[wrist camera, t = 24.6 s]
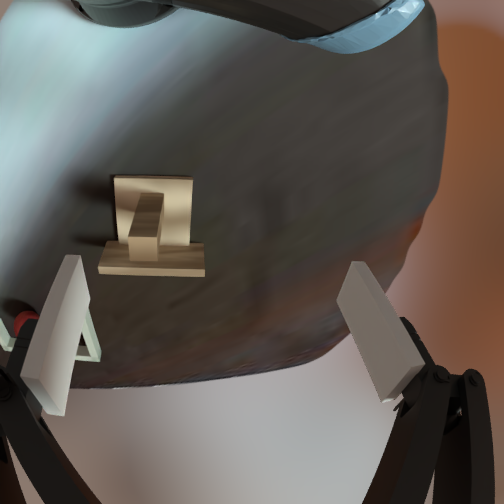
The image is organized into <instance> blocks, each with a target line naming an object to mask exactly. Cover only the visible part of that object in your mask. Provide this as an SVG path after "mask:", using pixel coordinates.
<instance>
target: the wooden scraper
mask: <svg viewBox="0 0 504 504" xmlns="http://www.w3.org/2000/svg"><path fill="white" fill-rule="evenodd" d="M192 184H193V177H176V176H117V175H116V176H115V177H114V187H115V203H116V217H117V228H118V239H119V241H107V242H106V245H105V248H104V251H103V254H102V256H101V259H100V262H99V265H98V269H99V274H118V275H151V276H192V277H204V276H205V263H204V245H203V243H189V241H190V219H191V201H192Z"/></svg>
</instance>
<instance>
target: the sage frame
mask: <svg viewBox="0 0 504 504" xmlns="http://www.w3.org/2000/svg"><path fill="white" fill-rule="evenodd" d="M82 334H83V337H84V339H85V342H86V345H87V346H79V345H78V348H77V352H76V357H75V360H84V361H96V362H100V357H101V349H100V346H99V343H98V340H97V336H96V333H95V330H94V327H93V323H92V320H91V316H90V313H89V309H87V313H86V316H85V320H84V324H83V328H82ZM16 339H17V338H10V336H9V334H8V332H7V330H6V328H5V326H4V324H3V322H2V320H1V318H0V344H1V345H2V347H3V349H4V350H6V351H12V349H13V347H14V343H15V340H16Z"/></svg>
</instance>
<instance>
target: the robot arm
mask: <svg viewBox="0 0 504 504" xmlns="http://www.w3.org/2000/svg"><path fill="white" fill-rule="evenodd" d="M71 1H72V3H73V5H74V6H75V8H76V9H77V10H78V11H79V12H80V13H81V14H82V15H83V16H85V17H86V18H87V19H89V20H91V21H93V22H95V23H98V24H101V25H104V26H109V27H115V28H134V27H140V26H144V25H148V24H151V23H154V22H157V21H159V20H161V19H163V18H165V17H167V16H169V15H170V14H172V13H173V12H175V11H176V10H178V9H179V8H180V7H181V8H186V9H191V10H196V11H200V12H205V13H209V14H213V15H217V16H221V17H225V18H229V19H233V20H236V21H240V22H243V23H247V24H250V25H253V26H257V27H260V28H263V29H266V30H269V31H272V32H275V33H278V34H280V35H281V36H282V37H284V38H286V39H288V40H290V41H296V42H299V43H308V44H311V45H314V46H316V47H319V48H322V49H325V50H327V51H330V52H335V53H342V54H350V53H358V52H362V51H366V50H369V49H372V48H374V47H376V46H379V45H381V44H382V43H384V42H386V41H388V40H389V39H391V38H392V37H394V36H395V35H397V34H398V33H400V32H401V31H402V30H403V29H404V28H406V27H407V26H408V25H409V24H410V23H411V22H412V21H413V20H414V19H415V18H416V16H417V15H418V14H419V13H420V12H421V10H422V9H423V7H424V6H425V4H424V2H423V0H71ZM336 301H337V304H338V306H339V308H340V310H341V312H342V314H343V316H344V319H345V321H346V323H347V325H348V327H349V329H350V332H351V334H352V336H353V338H354V340H355V343H356V344H357V347H358V349H359V352H360V354H361V356H362V358H363V361H364V363H365V365H366V367H367V369H368V372H369V374H370V376H371V379H372V381H373V384H374V386H375V388H376V391H377V393H378V396H379V398H380V400H381V402H382V403H383V402H387V401H391V400H395V399H396V398H397V397H398V396H399V394H401V392H402V394H403V397H404V398H403V399H402V400H401V401H400V403H399V404H398V405H397V406H396V407H395V408H394V410H393V411H396V410H397V409H398V408H399V410H398V413H397V416H396V419H395V422H394V425H393V428H392V431H391V434H390V437H389V440H388V442H387V445H386V448H385V451H384V453H383V456H382V458H381V461H380V464H379V466H378V468H377V471H376V473H375V476H374V478H373V480H372V483H371V485H370V487H369V489H368V492H367V494H366V496H365V498H364V500H363V503H362V504H424V502H425V499H426V496H427V493H428V490H429V487H430V483H431V480H432V477H433V473H434V469H435V474H434V475H435V476H434V490H433V502H432V504H495V478H494V455H493V442H492V431H491V422H490V414H489V407H488V400H487V394H486V387H485V382H484V379H483V377H482V375H481V374H480V373H479V372H478V371H477V370H474V369H468V370H466V371H465V372H464V373H463V375H454V374H450V373H449V372H448V370H447V369H446V368H444V367H442V366H439V365H435V363H434V361H433V360H432V358H431V356H430V354H429V353H428V351H427V349H426V347H425V346H424V344H423V342H422V341H421V339H420V337H419V335H418V334H417V332H416V330H415V328H414V327H413V326H412V324H411V323H410V322H409V321H408V320H407V319H406V318H405V317H398V315H397V313H396V311H395V310H394V308H393V306H392V305H391V303H390V301H389V300H388V298H387V296H386V295H385V293H384V292H383V290H382V288H381V287H380V285H379V284H378V282H377V280H376V279H375V277H374V276H373V274H372V272H371V271H370V269H369V268H368V266H367V265H366V263H365V262H358V261H352V263H351V265H350V268H349V270H348V273H347V275H346V278H345V280H344V283H343V285H342V288H341V290H340V293H339V295H338V298H337V300H336ZM89 302H90V296H89V292H88V287H87V283H86V279H85V274H84V270H83V265H82V260H81V255H66V256H65V258H64V260H63V262H62V264H61V267H60V269H59V271H58V273H57V276H56V278H55V280H54V283H53V285H52V287H51V290H50V292H49V294H48V297H47V299H46V302H45V304H44V307H43V309H42V312H41V315H40V317H39V319H31V318H28V319H27V320H26V321H25V322H24V324H23V325H22V326H21V327H20V330H19V332H18V335H17V339H16V340H15V343H14V347H13V349H12V351H11V354H10V357H9V360H8V363H7V366H6V368H5V367H3V366H1V365H0V504H26V501H25V498H24V496H23V493H22V490H21V487H20V484H19V481H18V478H17V474H16V471H15V468H14V465H13V461H12V458H11V454H10V450H9V446H8V442H7V438H8V440H9V442H10V444H11V446H12V448H13V450H14V452H15V454H16V456H17V458H18V460H19V462H20V464H21V465H22V467H23V469H24V470H25V472H26V474H27V476H28V478H29V479H30V481H31V482H32V484H33V486H34V488H35V489H36V491H37V492H38V494H39V496H40V497H41V499H42V500H43V502H44V503H45V504H102V503H101V502H100V501H99V500H98V498H97V497H96V496H95V495H94V494H93V492H92V491H91V490H90V488H89V487H88V486H87V484H86V483H85V482H84V480H83V479H82V478H81V476H80V475H79V474H78V472H77V471H76V469H75V468H74V467H73V465H72V464H71V462H70V461H69V459H68V458H67V456H66V455H65V453H64V452H63V450H62V449H61V447H60V446H59V444H58V443H57V441H56V439H55V438H54V436H53V435H52V433H51V431H50V430H49V428H48V426H47V424H46V423H45V421H44V419H43V418H42V417H41V412H42V407H43V408H44V410H45V411H46V413H47V414H52V415H58V416H64V414H65V408H66V402H67V397H68V391H69V386H70V381H71V376H72V371H73V366H74V361H75V357H76V352H77V348H78V344H79V340H80V336H81V332H82V328H83V324H84V320H85V316H86V313H87V309H88V306H89ZM460 410H461V414H462V415H461V414H460ZM6 436H7V438H6Z"/></svg>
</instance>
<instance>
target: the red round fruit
mask: <svg viewBox="0 0 504 504" xmlns="http://www.w3.org/2000/svg"><path fill="white" fill-rule="evenodd" d="M39 317H40V316H39V315H38V314H37V313H35V312H34V311H24V312H21V313H19V315H18V316H17V317H16V319H15V321H14V332H15V335H16V336H17V335H18V332H19V330H20V327H21V326H22V325H23V324H24V322H25V321H26V320H27V319H28V318H31V319H39Z"/></svg>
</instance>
